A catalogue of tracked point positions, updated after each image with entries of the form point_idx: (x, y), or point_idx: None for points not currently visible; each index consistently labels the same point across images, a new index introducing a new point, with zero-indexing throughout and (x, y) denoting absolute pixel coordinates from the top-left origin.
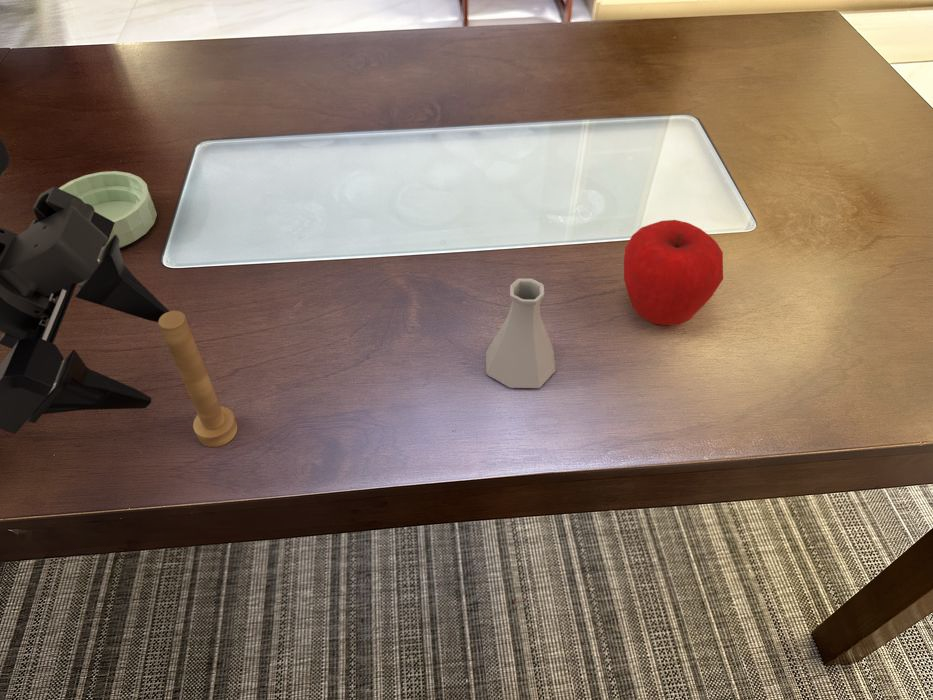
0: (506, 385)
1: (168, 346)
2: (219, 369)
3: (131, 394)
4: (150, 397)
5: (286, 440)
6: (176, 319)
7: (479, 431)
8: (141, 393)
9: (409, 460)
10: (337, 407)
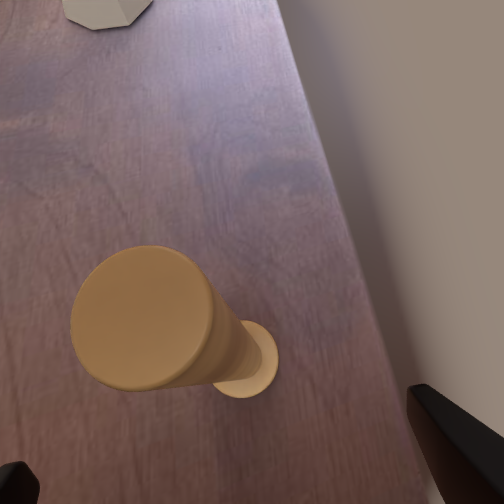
0: (148, 4)
1: (220, 368)
2: (101, 404)
3: (490, 436)
4: (413, 388)
5: (252, 241)
6: (142, 283)
7: (218, 24)
8: (438, 411)
9: (269, 85)
10: (186, 186)
